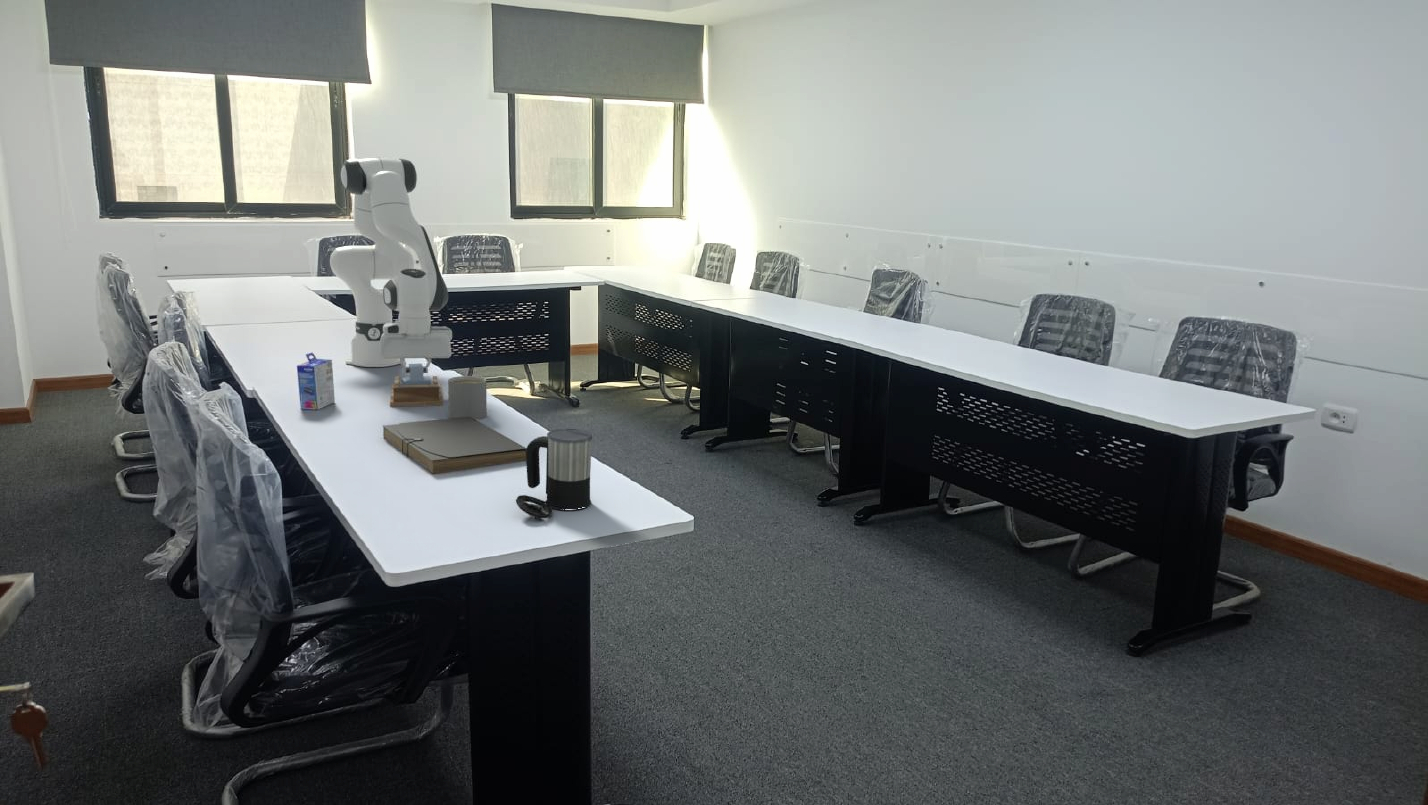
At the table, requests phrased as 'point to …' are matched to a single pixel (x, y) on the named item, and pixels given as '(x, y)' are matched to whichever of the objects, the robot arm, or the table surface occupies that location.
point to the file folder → (453, 444)
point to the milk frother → (559, 472)
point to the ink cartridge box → (315, 383)
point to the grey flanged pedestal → (416, 376)
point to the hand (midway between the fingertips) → (416, 373)
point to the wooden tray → (416, 394)
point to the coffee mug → (467, 397)
